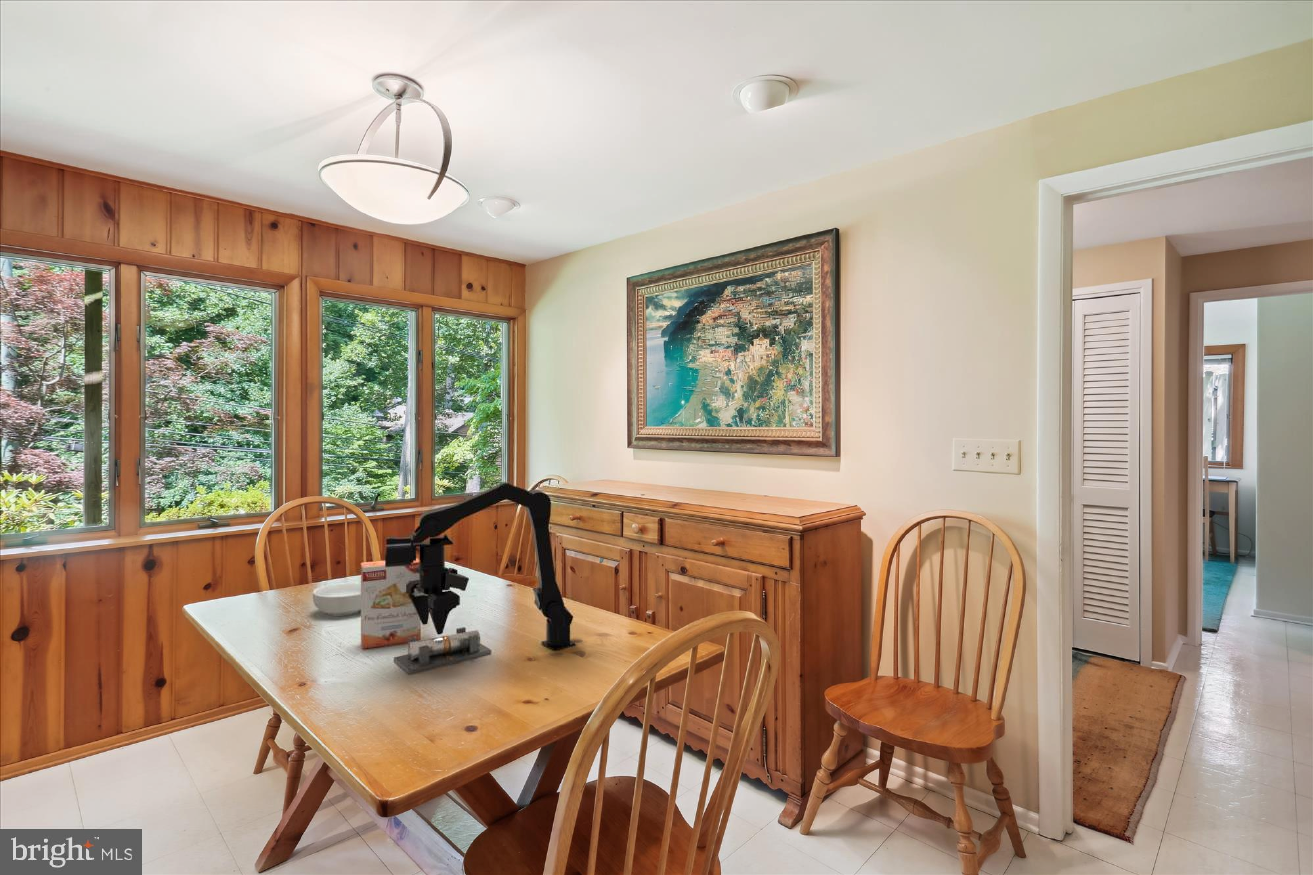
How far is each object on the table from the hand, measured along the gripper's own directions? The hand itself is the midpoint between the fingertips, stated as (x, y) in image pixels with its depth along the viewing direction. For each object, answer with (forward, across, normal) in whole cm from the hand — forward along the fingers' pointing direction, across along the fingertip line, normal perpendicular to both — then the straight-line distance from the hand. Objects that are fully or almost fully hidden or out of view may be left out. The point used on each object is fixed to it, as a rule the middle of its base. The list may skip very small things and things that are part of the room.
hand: (432, 629), depth 153 cm
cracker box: (+8, +19, +3) cm, 21 cm away
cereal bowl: (+8, +54, +5) cm, 55 cm away
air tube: (+6, -1, -3) cm, 7 cm away
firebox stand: (+8, 0, -3) cm, 8 cm away
